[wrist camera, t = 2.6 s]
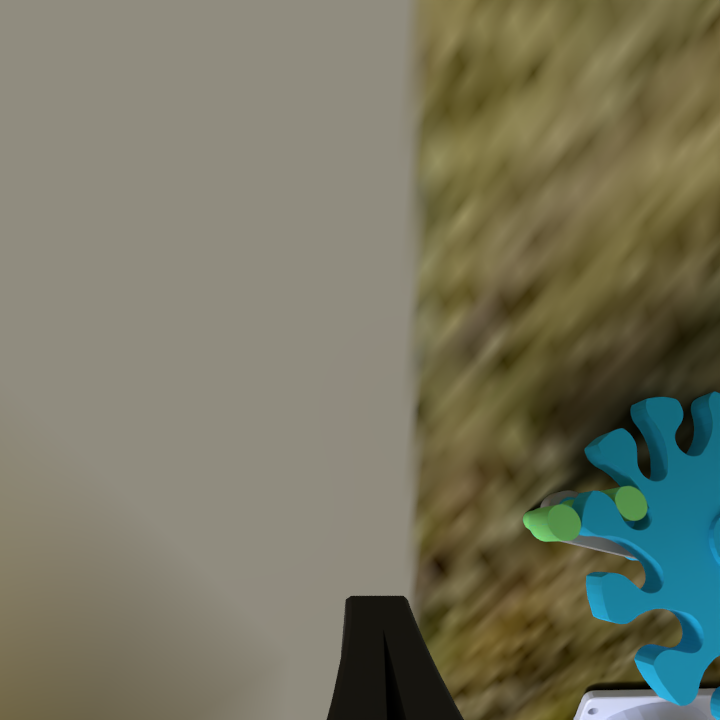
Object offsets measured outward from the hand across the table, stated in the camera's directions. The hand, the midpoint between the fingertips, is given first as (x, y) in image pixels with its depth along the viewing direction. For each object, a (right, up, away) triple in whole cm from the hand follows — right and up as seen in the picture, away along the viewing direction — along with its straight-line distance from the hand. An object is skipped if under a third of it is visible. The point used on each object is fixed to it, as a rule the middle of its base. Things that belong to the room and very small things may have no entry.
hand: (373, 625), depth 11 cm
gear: (+11, +2, +7) cm, 13 cm away
